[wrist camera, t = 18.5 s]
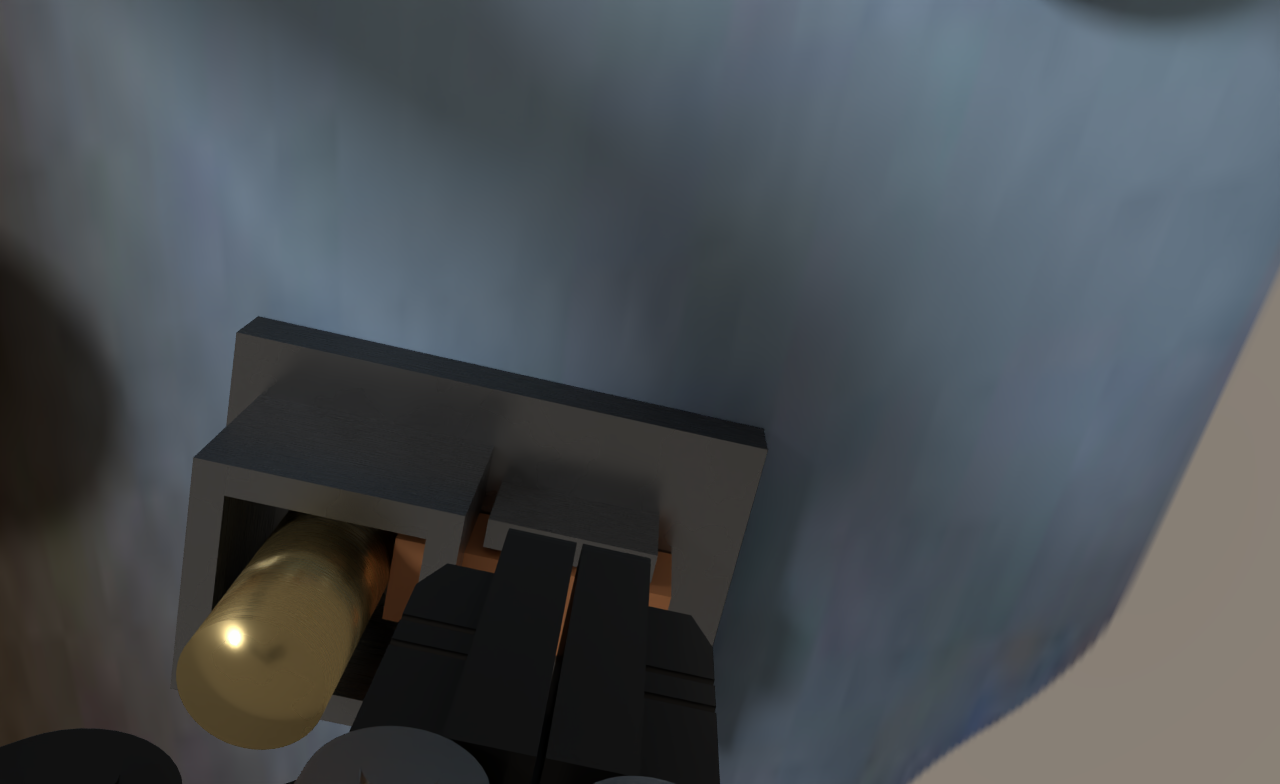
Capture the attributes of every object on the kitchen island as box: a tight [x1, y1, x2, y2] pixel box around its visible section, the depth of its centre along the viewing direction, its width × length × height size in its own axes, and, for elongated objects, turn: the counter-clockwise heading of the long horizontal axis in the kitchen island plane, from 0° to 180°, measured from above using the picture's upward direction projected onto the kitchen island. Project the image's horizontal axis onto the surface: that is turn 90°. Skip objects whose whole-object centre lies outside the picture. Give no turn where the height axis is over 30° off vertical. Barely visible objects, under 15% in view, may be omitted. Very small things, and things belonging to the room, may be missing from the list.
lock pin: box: [382, 513, 672, 656], centre depth 38 cm, size 9×3×3 cm, turn 77°
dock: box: [170, 316, 768, 726], centre depth 38 cm, size 18×12×8 cm, turn 77°
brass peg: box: [176, 510, 398, 750], centre depth 35 cm, size 4×4×10 cm
